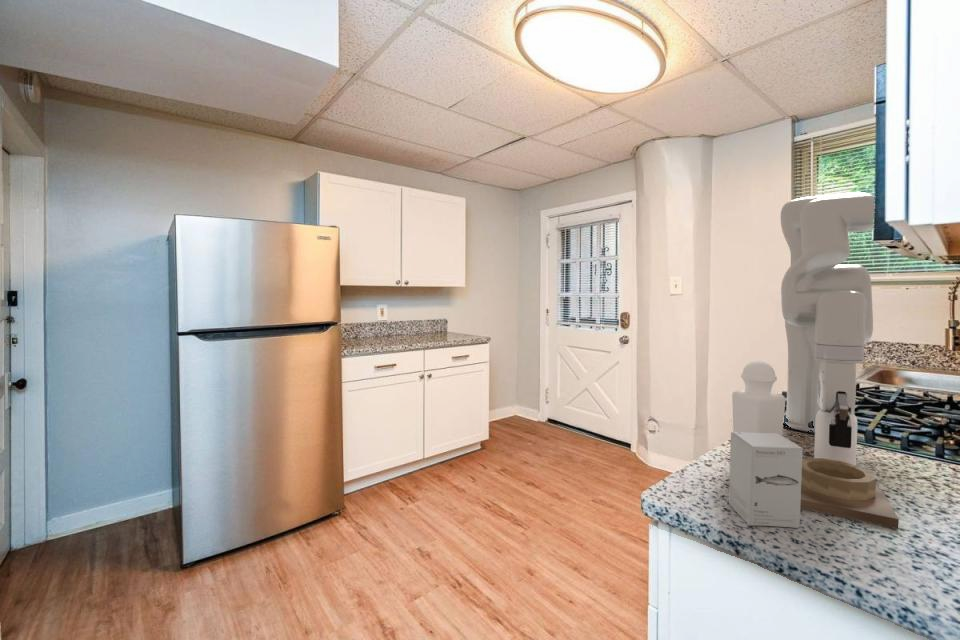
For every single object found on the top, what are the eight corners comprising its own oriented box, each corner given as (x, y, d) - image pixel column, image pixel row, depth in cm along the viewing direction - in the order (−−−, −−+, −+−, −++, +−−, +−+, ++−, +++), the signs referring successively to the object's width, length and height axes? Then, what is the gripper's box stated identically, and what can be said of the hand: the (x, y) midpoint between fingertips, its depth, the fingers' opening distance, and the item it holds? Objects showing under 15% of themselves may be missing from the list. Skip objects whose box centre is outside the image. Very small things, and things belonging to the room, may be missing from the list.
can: (857, 478, 82) (859, 416, 81) (814, 470, 86) (815, 411, 85) (854, 467, 87) (856, 408, 86) (813, 460, 91) (815, 404, 90)
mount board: (786, 468, 87) (787, 446, 86) (872, 483, 80) (873, 459, 79) (791, 506, 72) (792, 480, 71) (898, 528, 65) (899, 499, 64)
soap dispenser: (755, 461, 91) (758, 357, 89) (784, 474, 84) (787, 362, 83) (729, 465, 89) (731, 359, 88) (757, 478, 83) (759, 364, 81)
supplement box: (749, 527, 66) (750, 445, 65) (727, 503, 73) (729, 430, 72) (801, 529, 65) (804, 447, 64) (775, 505, 72) (777, 431, 71)
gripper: (810, 348, 94) (808, 426, 95) (819, 357, 80) (816, 448, 80) (855, 350, 90) (853, 431, 91) (873, 360, 76) (870, 456, 76)
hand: (836, 439), depth 86 cm, fingers open, 9 cm apart
